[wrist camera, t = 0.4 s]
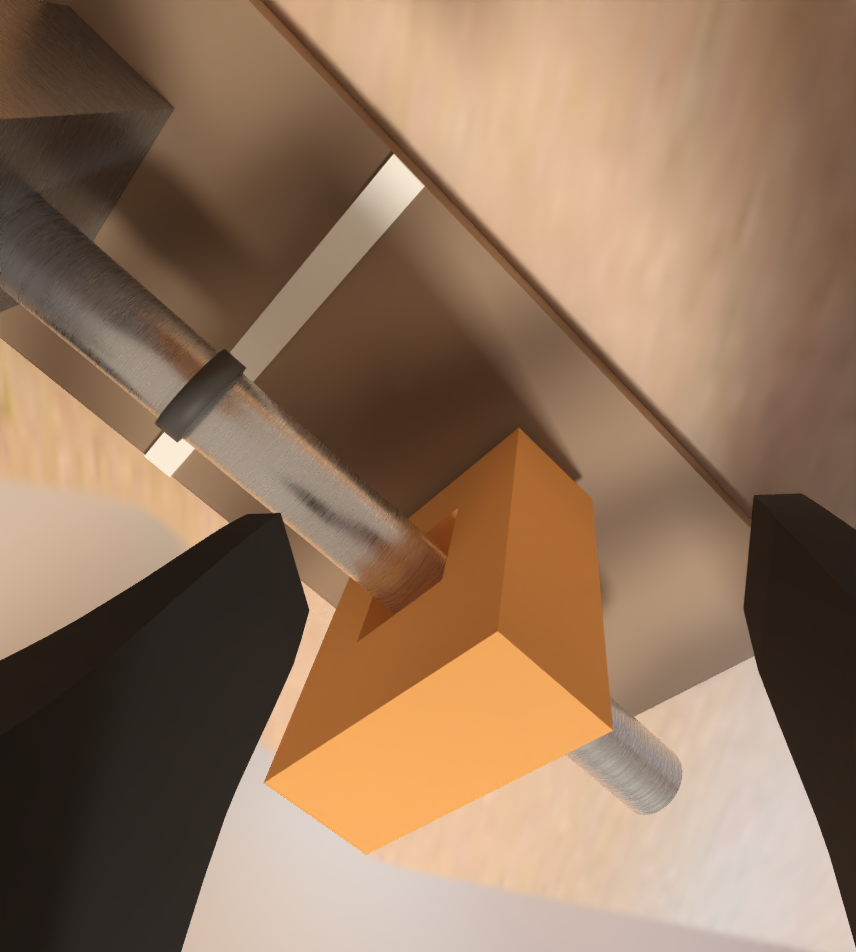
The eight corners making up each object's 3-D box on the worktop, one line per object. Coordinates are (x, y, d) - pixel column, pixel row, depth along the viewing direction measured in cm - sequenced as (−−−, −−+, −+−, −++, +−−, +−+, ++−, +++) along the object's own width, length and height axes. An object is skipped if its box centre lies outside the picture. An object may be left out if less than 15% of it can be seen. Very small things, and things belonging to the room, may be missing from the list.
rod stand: (822, 594, 21) (928, 795, 15) (533, 745, 27) (527, 937, 21) (137, -131, 15) (-147, -278, 9) (-56, 263, 20) (-311, 337, 14)
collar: (592, 499, 19) (613, 730, 12) (424, 618, 22) (366, 854, 15) (518, 427, 18) (497, 631, 11) (356, 561, 22) (263, 783, 15)
